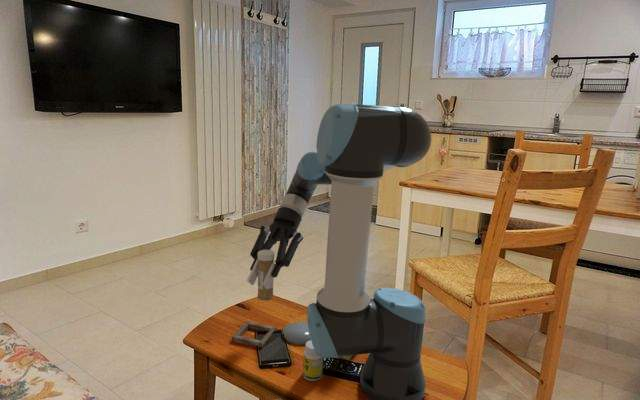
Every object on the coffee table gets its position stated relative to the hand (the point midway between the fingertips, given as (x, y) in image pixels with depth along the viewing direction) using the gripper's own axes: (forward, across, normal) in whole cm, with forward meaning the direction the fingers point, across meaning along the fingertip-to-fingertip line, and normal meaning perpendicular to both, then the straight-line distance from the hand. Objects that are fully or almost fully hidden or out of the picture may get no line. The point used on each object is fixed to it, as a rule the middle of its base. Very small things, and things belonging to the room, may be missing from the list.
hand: (257, 284), depth 112 cm
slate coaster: (+5, -9, -19) cm, 21 cm away
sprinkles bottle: (+1, 0, -6) cm, 7 cm away
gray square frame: (+10, +2, -14) cm, 17 cm away
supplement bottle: (+16, -20, -8) cm, 27 cm away
